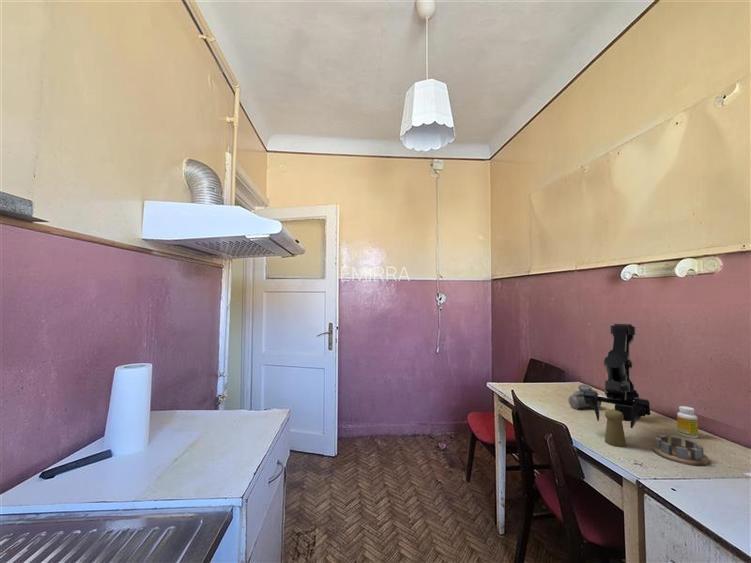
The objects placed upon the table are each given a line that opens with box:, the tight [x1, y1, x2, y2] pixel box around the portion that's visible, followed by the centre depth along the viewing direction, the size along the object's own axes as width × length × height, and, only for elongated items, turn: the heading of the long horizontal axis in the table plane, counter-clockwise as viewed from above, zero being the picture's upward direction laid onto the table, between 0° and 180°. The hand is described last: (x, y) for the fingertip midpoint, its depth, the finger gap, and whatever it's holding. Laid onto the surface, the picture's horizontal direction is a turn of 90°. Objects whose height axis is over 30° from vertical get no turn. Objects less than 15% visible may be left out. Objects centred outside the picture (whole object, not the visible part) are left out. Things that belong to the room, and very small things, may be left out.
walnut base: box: [651, 443, 710, 467], centre depth 103 cm, size 13×13×1 cm
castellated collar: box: [655, 434, 705, 461], centre depth 103 cm, size 11×11×3 cm
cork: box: [604, 408, 627, 448], centre depth 112 cm, size 6×6×11 cm
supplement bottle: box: [676, 405, 699, 439], centre depth 119 cm, size 5×5×10 cm
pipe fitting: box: [567, 384, 602, 410], centre depth 149 cm, size 12×8×10 cm
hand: (614, 423), depth 111 cm, fingers open, 9 cm apart
